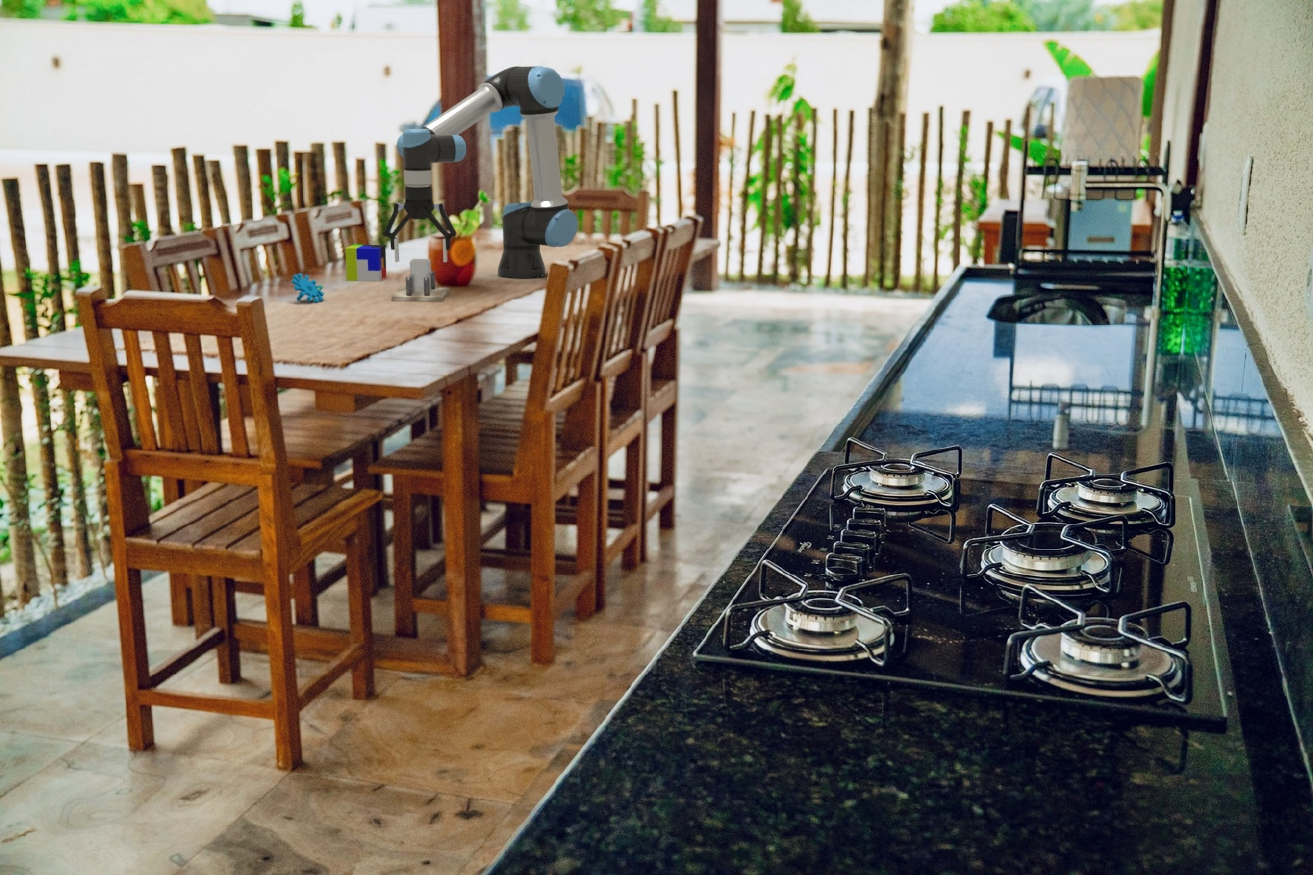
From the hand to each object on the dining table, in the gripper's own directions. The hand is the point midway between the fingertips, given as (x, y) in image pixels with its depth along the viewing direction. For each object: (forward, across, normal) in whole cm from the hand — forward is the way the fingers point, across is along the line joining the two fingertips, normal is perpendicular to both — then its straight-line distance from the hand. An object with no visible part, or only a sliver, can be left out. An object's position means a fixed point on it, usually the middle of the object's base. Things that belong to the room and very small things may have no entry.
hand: (421, 261), depth 375 cm
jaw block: (+9, 0, 0) cm, 9 cm away
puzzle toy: (+10, +21, -33) cm, 40 cm away
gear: (+10, +30, +12) cm, 33 cm away
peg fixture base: (+10, 0, 0) cm, 10 cm away
